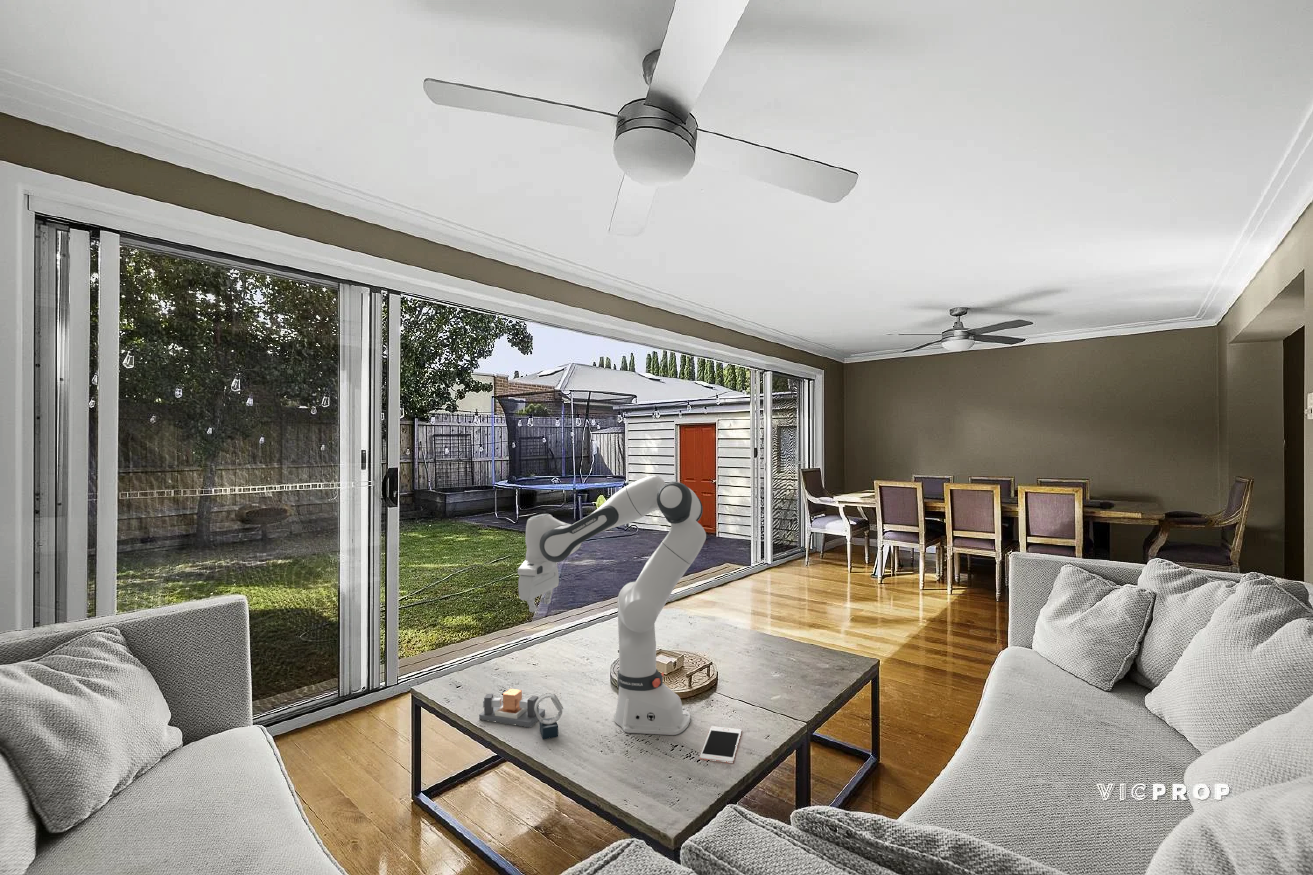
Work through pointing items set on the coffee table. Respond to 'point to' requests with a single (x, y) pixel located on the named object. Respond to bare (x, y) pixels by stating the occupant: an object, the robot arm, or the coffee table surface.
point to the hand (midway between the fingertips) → (540, 607)
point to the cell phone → (721, 744)
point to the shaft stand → (521, 718)
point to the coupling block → (512, 700)
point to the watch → (550, 724)
